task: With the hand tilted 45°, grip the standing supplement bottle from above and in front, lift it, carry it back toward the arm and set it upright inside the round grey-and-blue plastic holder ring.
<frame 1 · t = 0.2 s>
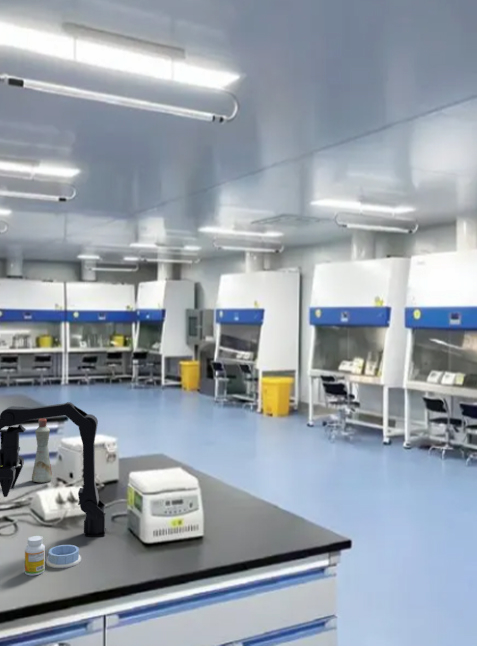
hand: (8, 492, 202), 15 cm above the worktop, tool pointing down, fingers open, 9 cm apart
holder: (63, 561, 183), on the worktop
bottle: (41, 481, 270), on the worktop
supplement bottle: (34, 572, 175), on the worktop
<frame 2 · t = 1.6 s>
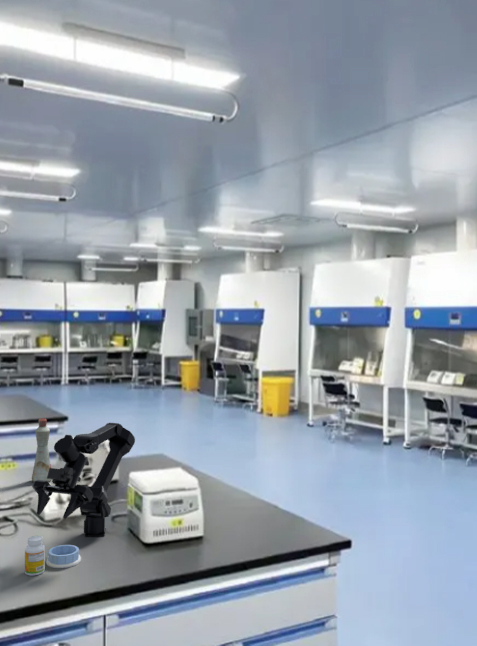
hand: (50, 516, 182), 13 cm above the worktop, tool tilted 45°, fingers open, 9 cm apart
nothing on the worktop moved.
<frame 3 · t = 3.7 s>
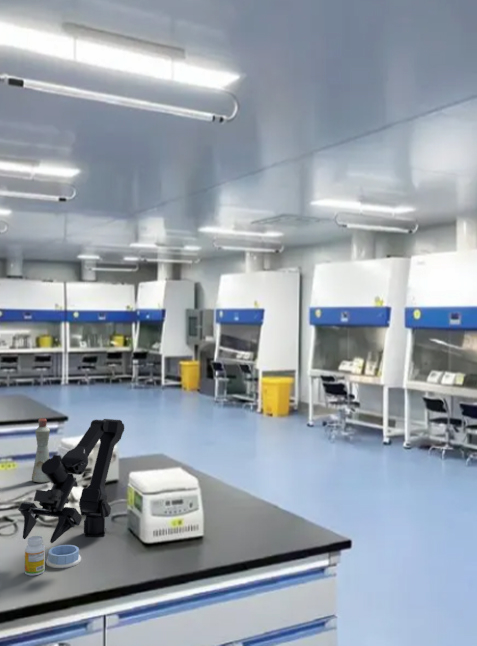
hand: (37, 540, 176), 9 cm above the worktop, tool tilted 45°, fingers open, 9 cm apart
nothing on the worktop moved.
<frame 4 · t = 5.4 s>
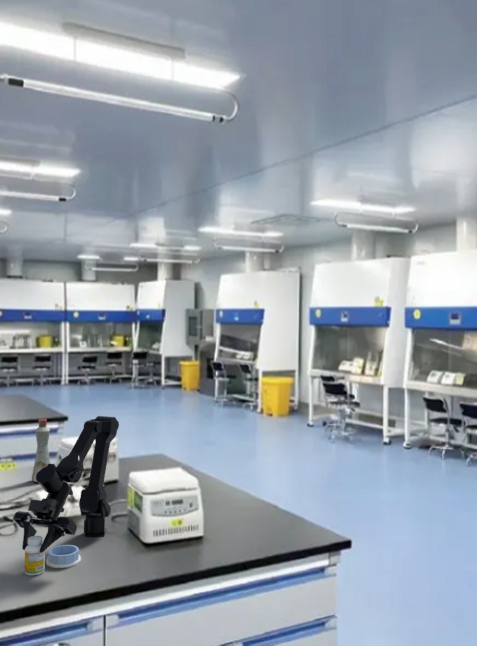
hand: (31, 550, 173), 7 cm above the worktop, tool tilted 45°, fingers closed on supplement bottle, 5 cm apart
supplement bottle: (34, 572, 175), on the worktop, touching gripper
everything else where it was.
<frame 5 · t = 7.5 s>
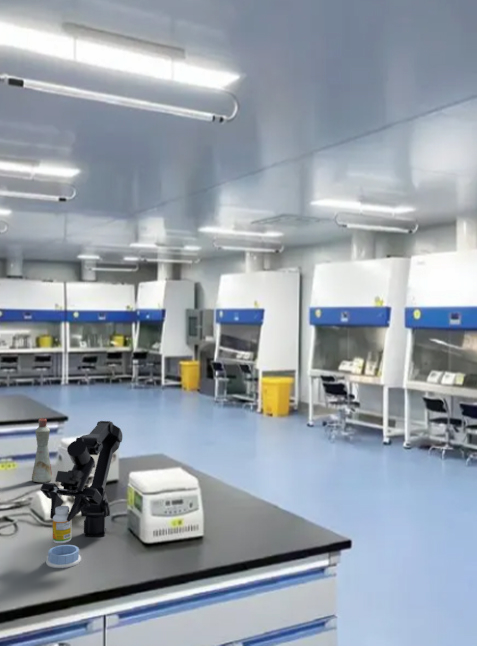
hand: (59, 519, 181), 13 cm above the worktop, tool tilted 45°, fingers closed on supplement bottle, 5 cm apart
supplement bottle: (62, 540, 182), point 6 cm above the worktop, touching gripper
everything else where it was.
when the fingers open (9 cm above the worktop, at t = 9.5 s): supplement bottle drops 1 cm, resting on holder.
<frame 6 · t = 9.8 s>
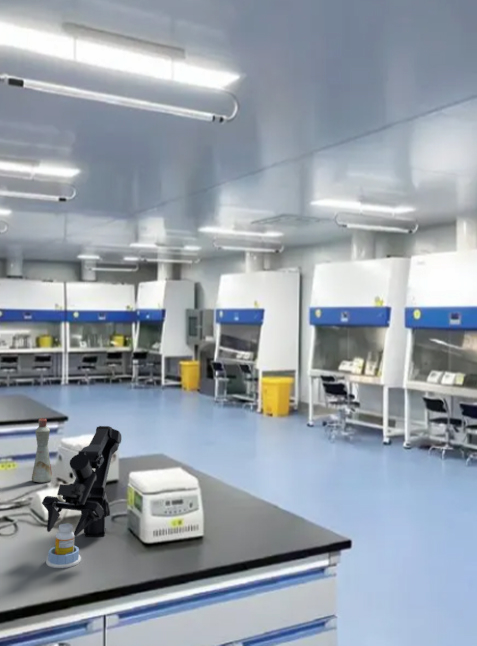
hand: (61, 533, 181), 9 cm above the worktop, tool tilted 45°, fingers open, 9 cm apart
supplement bottle: (63, 558, 183), point 1 cm above the worktop, touching holder
everything else where it was.
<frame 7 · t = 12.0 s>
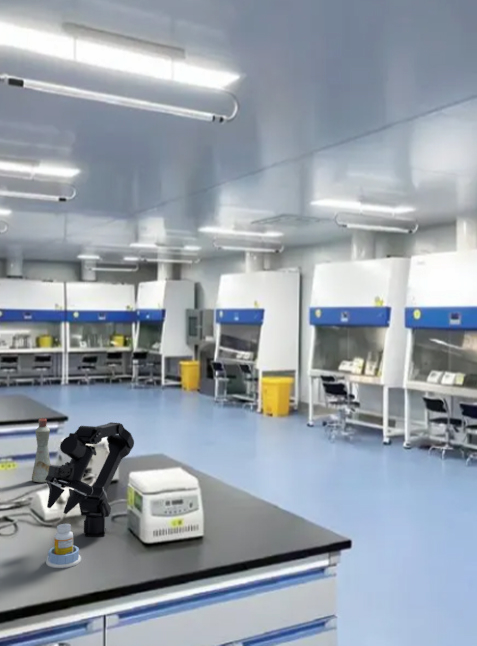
hand: (56, 510, 190), 13 cm above the worktop, tool tilted 30°, fingers open, 9 cm apart
nothing on the worktop moved.
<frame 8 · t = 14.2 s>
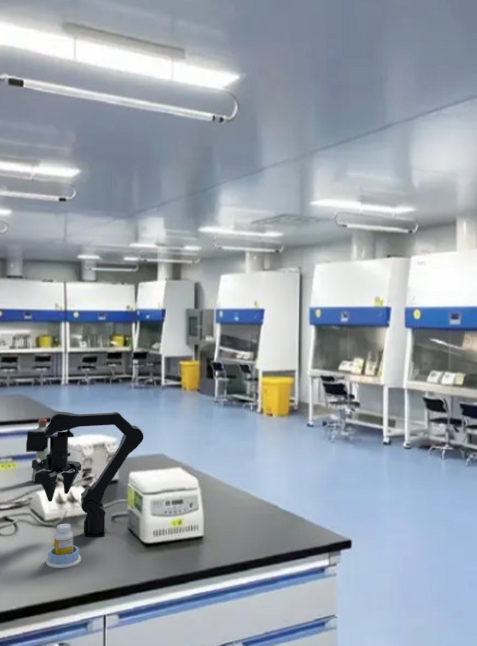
hand: (58, 497, 203), 13 cm above the worktop, tool pointing down, fingers open, 9 cm apart
nothing on the worktop moved.
at the end: supplement bottle 0.2 cm off-centre on the holder, point 0.6 cm above the holder's base; supplement bottle tilted 1°; the gripper is holding nothing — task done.
